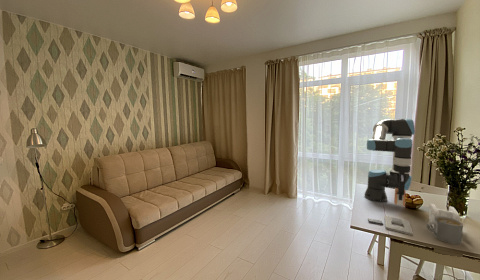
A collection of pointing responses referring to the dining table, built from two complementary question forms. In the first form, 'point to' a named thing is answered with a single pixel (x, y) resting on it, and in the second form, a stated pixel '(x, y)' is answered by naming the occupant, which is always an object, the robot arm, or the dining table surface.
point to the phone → (375, 221)
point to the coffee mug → (447, 229)
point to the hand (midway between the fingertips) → (399, 203)
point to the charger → (396, 197)
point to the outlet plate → (400, 222)
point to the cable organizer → (442, 213)
